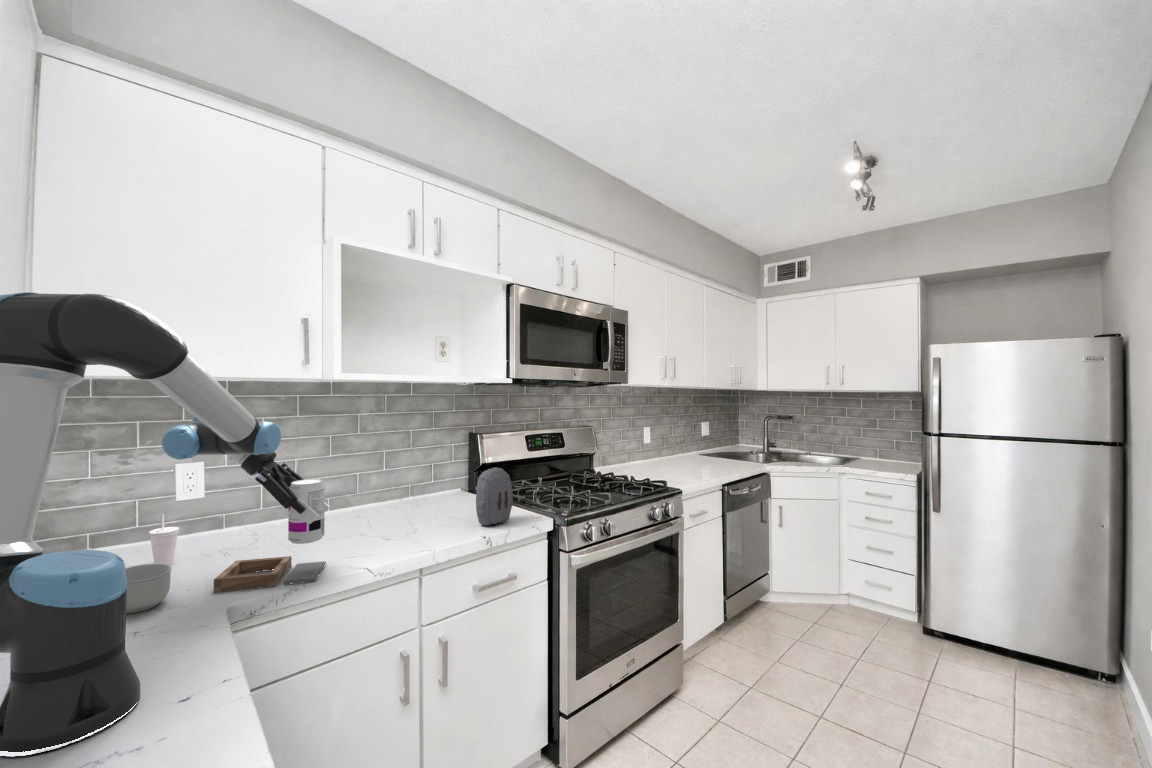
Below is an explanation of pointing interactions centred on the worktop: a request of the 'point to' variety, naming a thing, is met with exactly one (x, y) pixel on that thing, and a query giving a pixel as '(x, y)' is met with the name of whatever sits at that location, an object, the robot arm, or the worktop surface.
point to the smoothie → (164, 543)
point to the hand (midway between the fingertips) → (320, 515)
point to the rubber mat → (304, 572)
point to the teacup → (146, 585)
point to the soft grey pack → (493, 496)
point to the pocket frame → (234, 581)
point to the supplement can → (315, 499)
